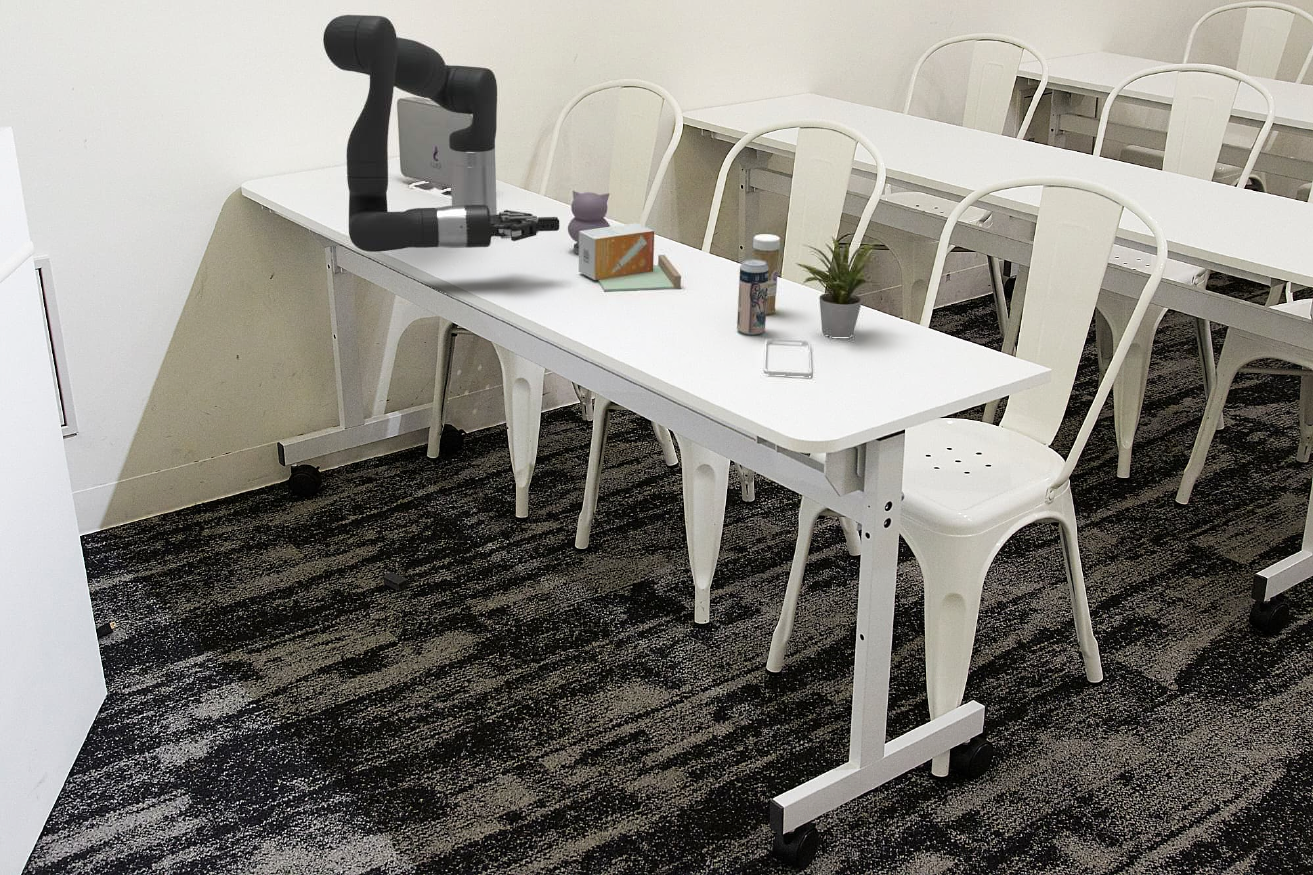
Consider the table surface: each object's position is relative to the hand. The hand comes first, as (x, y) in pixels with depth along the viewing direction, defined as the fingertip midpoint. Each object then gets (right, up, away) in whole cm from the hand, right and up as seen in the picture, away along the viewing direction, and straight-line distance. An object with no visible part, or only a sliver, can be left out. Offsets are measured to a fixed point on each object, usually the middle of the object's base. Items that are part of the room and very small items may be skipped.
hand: (558, 223), depth 239 cm
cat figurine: (+4, -2, +23) cm, 24 cm away
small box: (+5, -5, +5) cm, 8 cm away
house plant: (+49, -21, -17) cm, 56 cm away
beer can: (+34, -21, -19) cm, 44 cm away
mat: (+13, -9, +7) cm, 18 cm away
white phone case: (+39, -27, -30) cm, 56 cm away
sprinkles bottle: (+36, -17, -9) cm, 41 cm away
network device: (-32, +18, +67) cm, 77 cm away
